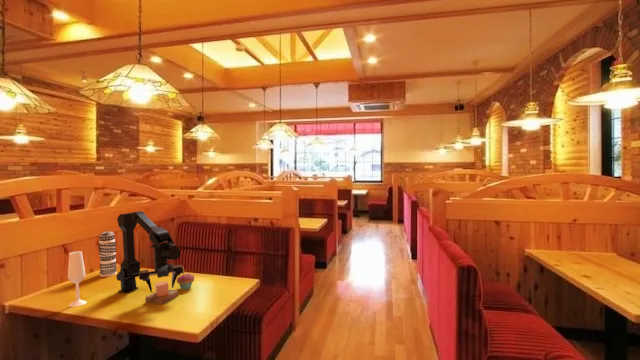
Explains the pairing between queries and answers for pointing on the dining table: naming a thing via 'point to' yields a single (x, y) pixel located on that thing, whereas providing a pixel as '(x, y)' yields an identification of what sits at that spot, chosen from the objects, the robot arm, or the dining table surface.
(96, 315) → the dining table surface
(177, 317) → the dining table surface
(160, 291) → the cube
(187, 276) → the cupcake
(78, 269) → the champagne flute
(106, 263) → the decorative candle
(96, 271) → the dining table surface
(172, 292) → the base
